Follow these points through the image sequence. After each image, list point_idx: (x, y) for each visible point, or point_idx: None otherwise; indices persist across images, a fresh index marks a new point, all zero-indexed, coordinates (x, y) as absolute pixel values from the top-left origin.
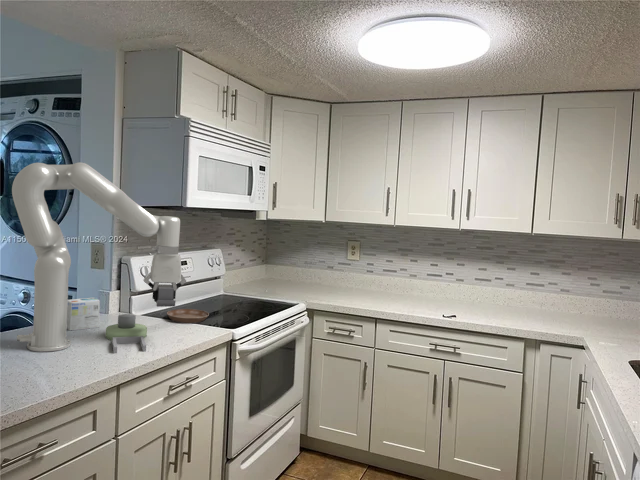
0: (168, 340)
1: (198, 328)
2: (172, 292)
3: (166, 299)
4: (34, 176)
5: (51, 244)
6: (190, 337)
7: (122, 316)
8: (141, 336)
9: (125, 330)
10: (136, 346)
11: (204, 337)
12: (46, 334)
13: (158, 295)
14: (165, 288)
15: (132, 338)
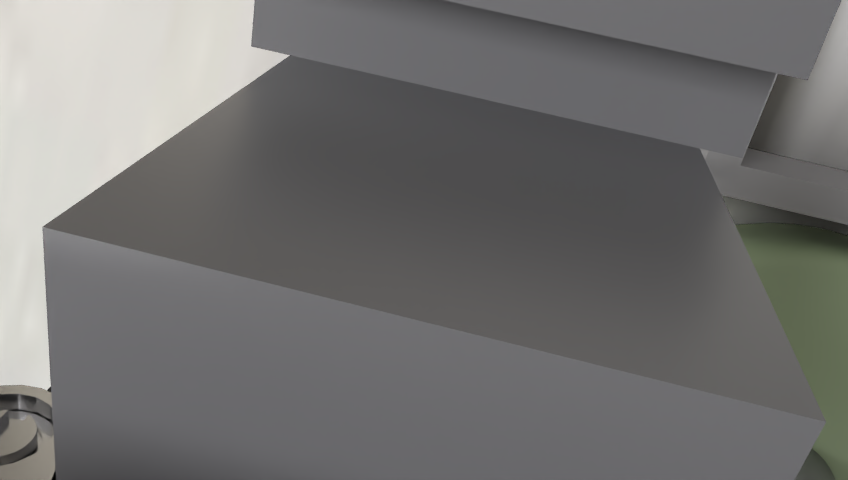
0: None
1: (35, 351)
2: (194, 161)
3: (461, 120)
4: None
5: None
6: (169, 104)
7: None
8: (722, 175)
9: (828, 378)
10: (837, 11)
11: (28, 43)
12: None
13: (733, 259)
14: (478, 330)
15: (824, 182)
